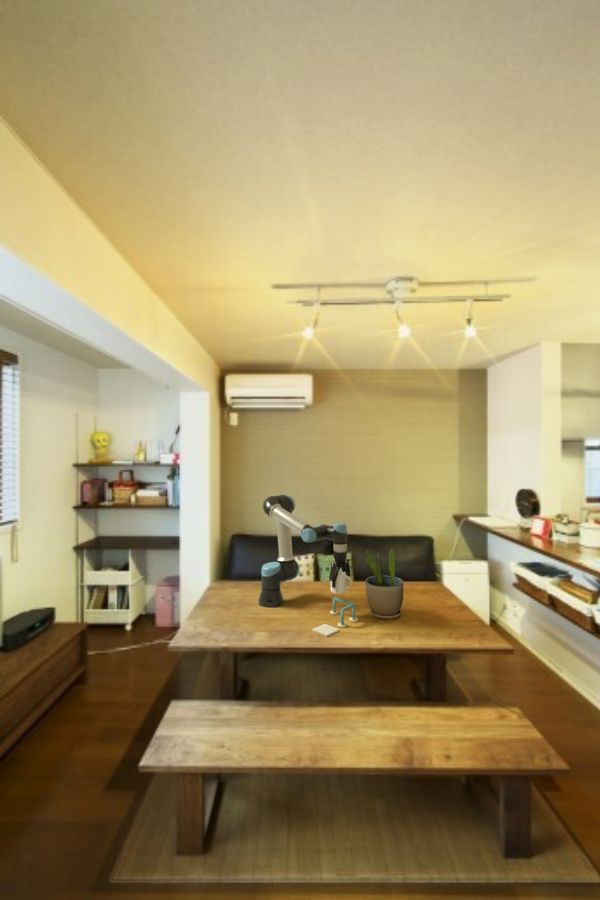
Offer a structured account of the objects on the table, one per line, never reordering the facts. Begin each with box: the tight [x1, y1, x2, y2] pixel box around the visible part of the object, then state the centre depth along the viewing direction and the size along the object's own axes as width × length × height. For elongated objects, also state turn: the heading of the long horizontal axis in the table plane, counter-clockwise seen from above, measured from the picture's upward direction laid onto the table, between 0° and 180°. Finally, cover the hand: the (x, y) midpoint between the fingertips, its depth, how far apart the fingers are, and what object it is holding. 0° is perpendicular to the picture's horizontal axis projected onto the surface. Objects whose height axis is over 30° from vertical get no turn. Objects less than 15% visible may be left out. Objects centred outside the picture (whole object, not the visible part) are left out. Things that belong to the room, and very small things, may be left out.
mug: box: [330, 570, 353, 595], centre depth 230 cm, size 9×12×11 cm
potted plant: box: [365, 548, 404, 620], centre depth 231 cm, size 21×22×40 cm
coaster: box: [311, 623, 340, 638], centre depth 209 cm, size 10×10×1 cm
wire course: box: [329, 596, 359, 629], centre depth 224 cm, size 19×15×9 cm
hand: (340, 591), depth 229 cm, fingers closed on mug, 9 cm apart
